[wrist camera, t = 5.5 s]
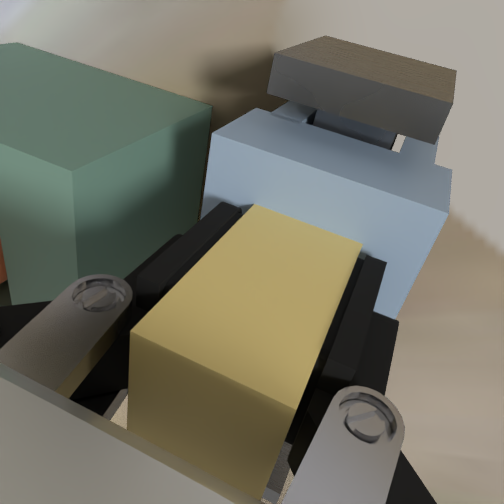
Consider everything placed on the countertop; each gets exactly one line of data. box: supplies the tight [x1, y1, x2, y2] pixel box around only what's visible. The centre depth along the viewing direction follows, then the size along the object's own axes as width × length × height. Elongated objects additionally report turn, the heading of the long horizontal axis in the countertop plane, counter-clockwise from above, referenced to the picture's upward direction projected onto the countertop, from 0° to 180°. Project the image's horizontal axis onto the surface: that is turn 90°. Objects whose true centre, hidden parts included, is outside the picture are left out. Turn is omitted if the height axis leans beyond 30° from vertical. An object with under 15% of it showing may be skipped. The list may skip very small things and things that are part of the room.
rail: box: [262, 36, 457, 504], centre depth 18 cm, size 4×19×5 cm, turn 169°
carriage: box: [127, 101, 452, 501], centre depth 12 cm, size 6×6×11 cm
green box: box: [0, 43, 212, 307], centre depth 19 cm, size 10×10×8 cm
